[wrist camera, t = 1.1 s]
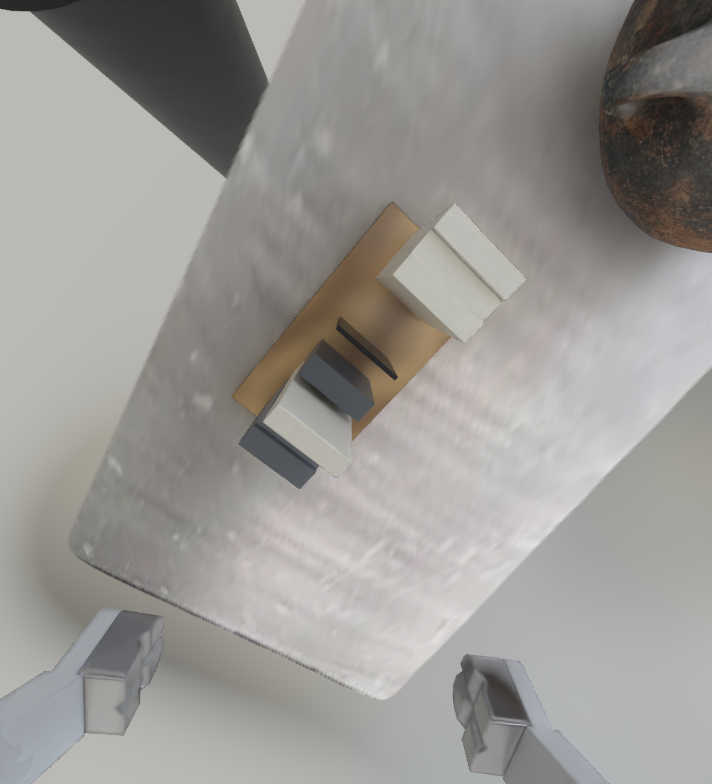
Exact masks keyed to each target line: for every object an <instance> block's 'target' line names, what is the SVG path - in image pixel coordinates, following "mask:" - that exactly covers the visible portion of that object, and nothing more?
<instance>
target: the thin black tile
mask: <svg viewBox="0 0 712 784" xmlns="http://www.w3.org/2000/svg"><path fill="white" fill-rule="evenodd" d="M336 330H337V331H338V332H339V333H341V334H342V335H343V336H344V337H345V338H346V339H347V340H349V341H350V342H351V343H352V344H353V345H354V346H355V347H357V348H358V349H359V350H360V351H361V352H362V353H364V354H365V355H366V356H367V357H368V358H369V359H370V360H372V361H373V362H374V363H375V364H376V365H377V366H378V367H380V368H381V369H382V370H383V371H384V372H385V373H386V374H388V375H389V376H390V377H391V378H392V379H393V380H396V379H397V378H398V376H397V374H396V372H395V370H394V368H393V366H392V364H391V363H390V361H389V359H388V358H387V357H386V356H385V355H384V354H383V353H382V352H380V351H379V350H378V349H377V348H376V347H375V346H374V345H373V344H371V343H370V342H369V341H368V340H367V339H366V338H365V337H364V336H362V335H361V334H360V333H359V332H358V331H357V330H356V329H354V328H353V327H352V326H351V325H350V324H349V323H348V322H347V321H345V320H344V319H343V318H342V317H340V318H339V319H338V323H337V326H336Z"/></svg>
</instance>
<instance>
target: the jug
mask: <svg viewBox="0 0 712 784" xmlns="http://www.w3.org/2000/svg"><path fill="white" fill-rule="evenodd" d="M599 131H600V150H601V159H602V166H603V170H604V175H605V179H606V183H607V185H608V187H609V189H610V191H611V193H612V195H613V197H614V199H615V201H616V202H617V204H618V205H619V206H620V207H621V209H622V210H623V211H624V212H625V214H626V215H627V216H628V217H629V218H630V219H631V220H632V221H633V222H634V223H635V224H636V225H637V226H638V227H639V228H640V229H641V230H643V231H644V232H646V233H647V234H648V235H650V236H651V237H654V238H656V239H658V240H660V241H663V242H666V243H669V244H671V245H674V246H678V247H682V248H687V249H691V250H696V251H701V252H708V253H712V0H635V1H634V3H633V4H632V6H631V8H630V10H629V12H628V15H627V17H626V19H625V21H624V24H623V26H622V28H621V30H620V32H619V35H618V37H617V40H616V42H615V45H614V48H613V50H612V53H611V55H610V59H609V62H608V66H607V69H606V74H605V78H604V83H603V88H602V97H601V104H600V124H599Z"/></svg>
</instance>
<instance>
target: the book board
mask: <svg viewBox="0 0 712 784" xmlns="http://www.w3.org/2000/svg"><path fill="white" fill-rule="evenodd" d="M418 230H419V228H418V227H417V226H416V225H415V224H414V223H413V222H412V221H411V220H410V219H409V218H408V217H407V216H406V215H405V214H404V213H403V212H402V211H401V210H400V209H399V208H398V207H397V206H396V205H395V204H394V203H393V202H391V203H390V204H389V206H388V207H387V208H386V209H385V210H384V212H383V213H382V214H381V215H380V217H379V218H378V219H377V220H376V221H375V223H374V224H373V225H372V226H371V228H370V229H369V230H368V231H367V232H366V234H365V235H364V236H363V237H362V238H361V240H360V241H359V242H358V243H357V245H356V246H355V247H354V248H353V249H352V251H351V252H350V253H349V254H348V255H347V257H346V258H345V259H344V260H343V262H342V263H341V264H340V265H339V266H338V268H337V269H336V270H335V271H334V273H333V274H332V275H331V276H330V277H329V279H328V280H327V281H326V282H325V283H324V285H323V286H322V287H321V288H320V290H319V291H318V292H317V293H316V294H315V296H314V297H313V298H312V299H311V300H310V302H309V303H308V304H307V305H306V307H305V308H304V309H303V310H302V311H301V313H300V314H299V315H298V316H297V317H296V319H295V320H294V321H293V322H292V324H291V325H290V326H289V327H288V328H287V330H286V331H285V332H284V333H283V335H282V336H281V337H280V338H279V339H278V341H277V342H276V343H275V344H274V345H273V347H272V348H271V349H270V350H269V352H268V353H267V354H266V355H265V356H264V358H263V359H262V360H261V361H260V362H259V364H258V365H257V366H256V367H255V369H254V370H253V371H252V372H251V373H250V375H249V376H248V377H247V378H246V380H245V381H244V382H243V383H242V384H241V386H240V387H239V388H238V389H237V390H236V392H235V393H234V394H233V395H232V398H233V399H235V400H236V401H237V402H239V403H240V404H241V405H242V406H244V407H245V408H246V409H248V410H249V411H250V412H252V413H253V414H254V415H256V416H258V414H259V413H260V412H261V410H262V409H263V407H264V406H265V405H266V404H267V402H268V401H269V400H270V399H271V398H272V397H273V395H274V394H275V393H276V392H277V391H278V390H279V388H280V387H281V386H282V385H283V384H284V383H285V381H286V380H287V379H288V378H289V379H290V377H291V375H292V374H293V372H294V371H295V370H296V369H297V367H298V366H299V365H300V364H301V363H302V362H303V361H305V360H306V358H307V356H308V355H309V353H310V352H311V351H312V350H313V349H314V347H315V346H316V345H317V344H318V343H319V342H320V340H321V339H323V340H324V341H325V342H326V343H328V344H329V345H330V346H331V347H332V348H333V349H335V350H336V351H337V352H338V353H339V354H340V355H342V356H343V357H344V358H345V359H346V360H347V361H349V362H350V363H351V364H352V365H353V366H354V367H356V368H357V369H358V370H359V371H360V372H361V373H363V374H364V375H365V376H366V377H367V378H368V379H370V384H371V389H372V393H373V398H374V403H375V405H374V406H373V407H372V408H371V409H370V410H369V411H368V412H367V413H366V414H365V415H364V417H363V418H362V419H361V420H360V421H359V422H357V421H355V420H354V419H353V418H352V417H351V428H352V441H353V440H354V439H355V438H356V437H357V435H358V434H359V433H360V432H361V431H362V430H363V429H364V428H365V427H366V426H367V425H368V424H369V423H370V422H371V421H372V420H373V419H374V418H375V417H376V415H377V414H378V413H379V412H380V411H381V410H382V409H383V408H384V407H385V406H386V405H387V404H388V403H389V402H390V401H391V400H392V399H393V398H394V397H395V395H396V394H397V393H398V392H399V391H400V390H401V389H402V388H403V387H404V386H405V385H406V384H407V383H408V382H409V381H410V380H411V379H412V378H413V377H414V375H415V374H416V373H417V372H418V371H419V370H420V369H421V368H422V367H423V366H424V365H425V364H426V363H427V362H428V361H429V360H430V359H431V358H432V357H433V355H434V354H435V353H436V352H437V351H438V350H439V349H440V348H441V347H442V346H443V345H444V344H445V343H446V342H447V341H448V340H449V339H450V338H451V336H449V335H447V334H445V333H443V332H442V331H440V330H438V329H436V328H434V327H432V326H430V325H428V324H426V323H424V322H423V321H421V320H420V319H419V318H418V317H417V316H416V315H415V314H414V313H412V312H411V311H410V310H409V309H408V308H407V307H406V306H405V305H404V304H403V303H402V302H401V301H400V300H399V299H398V298H397V297H395V296H394V295H393V294H392V293H391V292H390V291H389V290H388V289H387V288H386V287H385V286H384V285H383V284H382V283H381V282H379V281H378V280H377V279H376V277H377V275H378V274H379V273H380V272H381V271H382V270H383V268H384V267H385V266H386V265H387V264H388V263H389V261H390V260H391V259H392V258H393V257H394V256H395V254H396V253H397V252H398V251H399V250H400V249H401V247H402V246H403V245H404V244H405V243H406V242H407V240H408V239H409V238H410V237H411V236H412V235H413V234H414V233H415V232H417V231H418ZM340 317H342V318H343V319H344V320H345V321H347V322H348V323H349V324H350V325H351V326H352V327H353V328H354V329H356V330H357V331H358V332H359V333H360V334H361V335H362V336H364V337H365V338H366V339H367V340H368V341H369V342H370V343H371V344H373V345H374V346H375V347H376V348H377V349H378V350H379V351H380V352H382V353H383V354H384V355H385V356H386V357H387V358H388V359H389V361H390V363H391V364H392V366H393V368H394V370H395V372H396V374H397V376H398V378H397V379H396V380H393V379H392V378H391V377H390V376H389V375H388V374H386V373H385V372H384V371H383V370H382V369H381V368H380V367H378V366H377V365H376V364H375V363H374V362H373V361H372V360H370V359H369V358H368V357H367V356H366V355H365V354H364V353H362V352H361V351H360V350H359V349H358V348H357V347H355V346H354V345H353V344H352V343H351V342H350V341H349V340H347V339H346V338H345V337H344V336H343V335H342V334H341V333H339V332H338V331H337V330H336V326H337V323H338V319H339V318H340Z"/></svg>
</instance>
